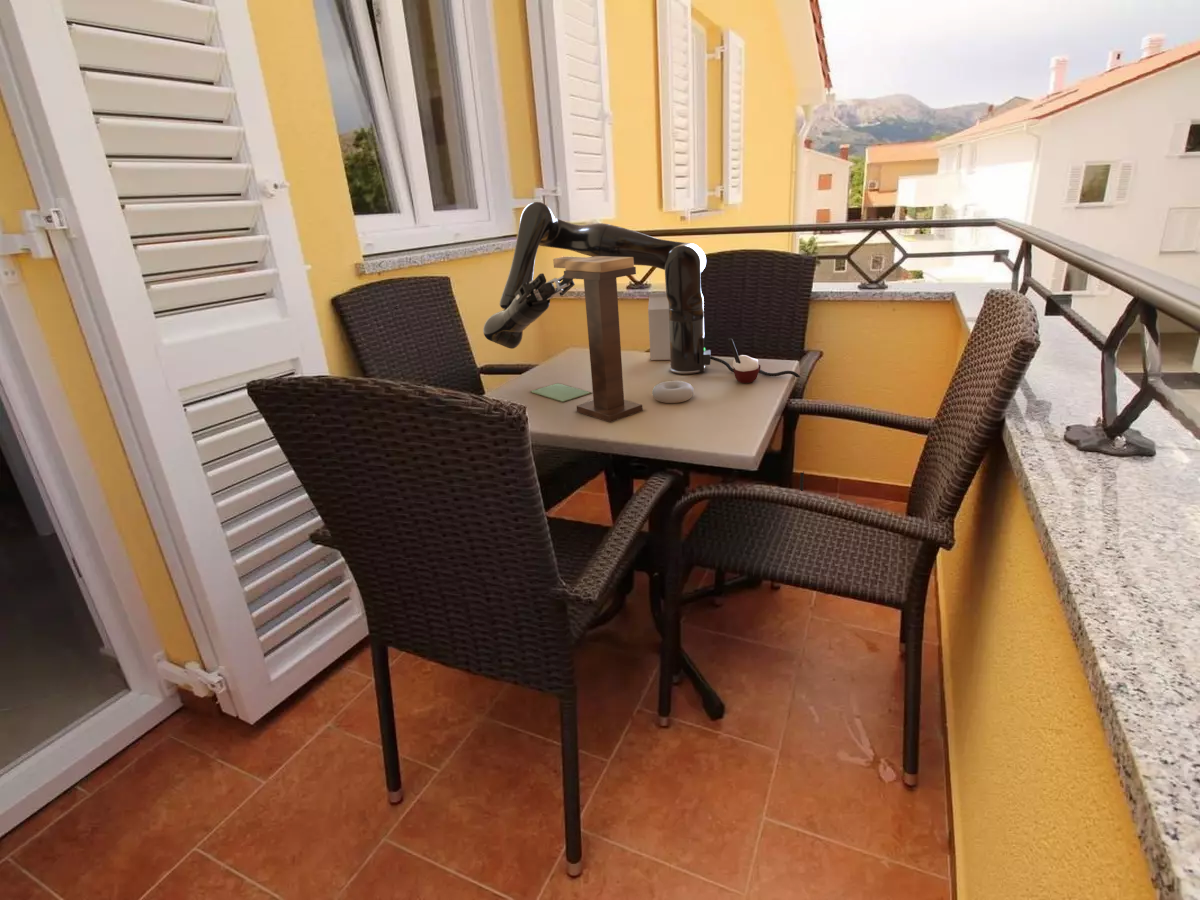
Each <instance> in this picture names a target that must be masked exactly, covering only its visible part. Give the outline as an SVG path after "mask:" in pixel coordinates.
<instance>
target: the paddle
mask: <svg viewBox="0 0 1200 900" xmlns="http://www.w3.org/2000/svg"><path fill="white" fill-rule="evenodd" d="M552 262H553V264H552V265H553V268H555V269H565V270H564V271H582V272H599V273H602V272H608V271H614V270H620V269H625V268H631V267H635V265H634V260H633V257H611V256H594V257H592V256H588V257H582V256H561V257H555V258H554V257H553V259H552Z"/></svg>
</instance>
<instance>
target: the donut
mask: <svg viewBox="0 0 1200 900" xmlns="http://www.w3.org/2000/svg"><path fill="white" fill-rule="evenodd" d="M694 392H695V389H694V386H692V385H691V383H689V382H686V381H682V380H668V381H661V382H659V383H657V384H656V385H654V386H653V388H652V391H651V394H652V397H653V399H654V400H655V401H656V402H657V401H658V402H660V403H664V404H678V403H683V402H686V401H688V400H690V399H691V398H692V397H693V396H694Z"/></svg>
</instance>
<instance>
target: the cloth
mask: <svg viewBox="0 0 1200 900" xmlns="http://www.w3.org/2000/svg"><path fill="white" fill-rule="evenodd" d="M530 393H532V394H535V395H539V396H541V397H545V398H548V399H551V400H554V401H557V402H561V403H565V402H569V401H571V400H575V399H577V398H581V397H584V396H588V395H591V394H592V392H591V391H588V390H584V389H581V388H577V387H573V386H569V385H566V384H562V383H559V382H557V383H554V384H550V385H548V386H543V387H541V388H537V389H534V390H530Z"/></svg>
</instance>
